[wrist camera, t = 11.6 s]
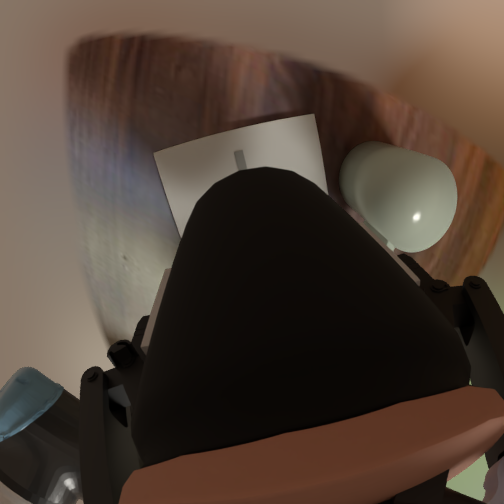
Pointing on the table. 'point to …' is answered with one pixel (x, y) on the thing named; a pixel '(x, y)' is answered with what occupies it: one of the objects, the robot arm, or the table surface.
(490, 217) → the table surface
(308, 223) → the coffee jar
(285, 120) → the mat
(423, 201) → the mug sage
